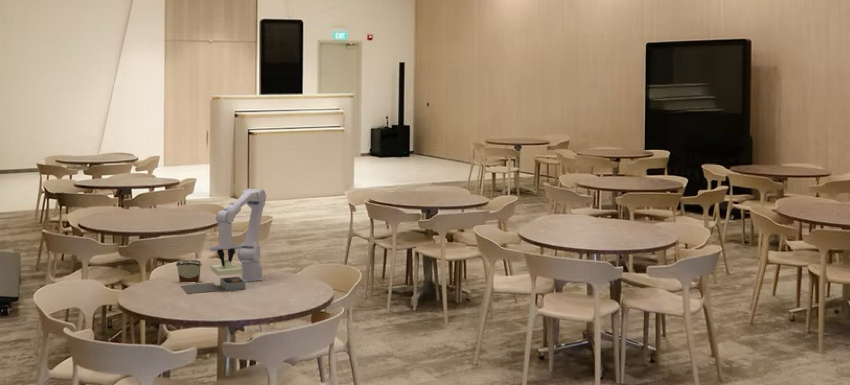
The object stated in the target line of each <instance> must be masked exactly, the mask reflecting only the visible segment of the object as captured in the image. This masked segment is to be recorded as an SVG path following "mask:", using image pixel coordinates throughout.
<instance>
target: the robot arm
mask: <svg viewBox="0 0 850 385" xmlns="http://www.w3.org/2000/svg"><path fill="white" fill-rule="evenodd" d="M266 199H267V194H266V192H265V189H263V188H260V189H258V188H257V189H255V188H244V190H242V192H241V195H240V197H239V198H238V199H237V200H236V201H230V203H229V204H228V205H227V206H226V207H224V208H223V210H222V209H221V210H219V211H217V213H216V217H215V220H216V222H217V227H218V238H219V239H218V241H219V242H218V243H219V245H214V246H213V245H212V246H209V251H210V252H216V253H217V255H218V257H219V260H220V262H221V264H222V266H224V259H225V251H227V255H228V256H227V259H228V260H229V261H230V262H231V263H232V262H233V258H234V255H235V253H236V250H237V253H236V256H237V258H238V260H239V262H240V263H241V266H240V268H242V274H241V277H240V278H241V279H242V280H244V281H245V283H246V282H257V281H263V266H262V261H260V258H261V246H260V245H259V244H258V243H257V240H258V237H259V236H258V235H259V231H260V225H261V220H262V216H263V210H264V207H265V205H266ZM245 205H246V206H247V207H249V208H250V209H251V212H250V216H249V222H248V226H247V231H246V236H245V240H244V241H243V242H242V243H239V244H233V231H232V228H233V227H232V225H233V224H232V223H233V222H234V221H235V217H236V216H237V215H238V214H239V213H241V210H242V208H243V207H244V206H245Z"/></svg>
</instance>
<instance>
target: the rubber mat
mask: <svg viewBox="0 0 850 385" xmlns="http://www.w3.org/2000/svg"><path fill="white" fill-rule="evenodd" d="M180 287H181V288H182V290H185V291H184V292H185V293H186V294H187V295H192V293H195V294H201V293H202V294H203V293H213V292H214V293H215V292H221V291H222V289H220V288H219V287H218V286H217V284H215V283H214V282H207V283H192V284H183V285H180Z"/></svg>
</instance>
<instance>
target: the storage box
mask: <svg viewBox="0 0 850 385" xmlns="http://www.w3.org/2000/svg"><path fill="white" fill-rule="evenodd" d="M241 278H242V277H240V276H232V277H230V276H229V277H221V278H220V279H219V283H220V287H221V288H222V289H223V290H225V291H226V292H229V291H231V292H232V291H241V290H242V291H243V290H246V282H245V281H244V280H242V279H241Z"/></svg>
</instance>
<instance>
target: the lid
mask: <svg viewBox="0 0 850 385" xmlns="http://www.w3.org/2000/svg"><path fill="white" fill-rule="evenodd" d="M210 268H211V269H210V270H211V271H212V272H213V273H215V275H217V276H218V277H219V276H232V275H242V267H241V266H239V265H237V264H236V263H234V262H233V263H232V262H230V261H229V260H228V258H224V266H222V263H221V264H212V265H210Z"/></svg>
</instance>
